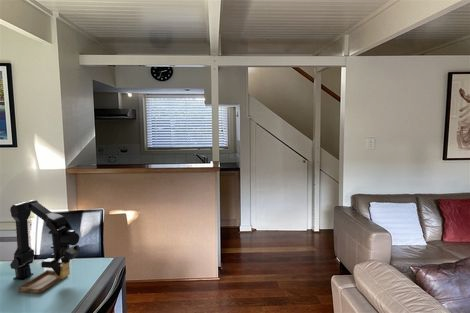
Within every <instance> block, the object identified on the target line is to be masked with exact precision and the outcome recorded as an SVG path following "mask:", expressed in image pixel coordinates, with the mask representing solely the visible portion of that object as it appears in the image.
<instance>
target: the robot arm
mask: <svg viewBox="0 0 470 313" xmlns="http://www.w3.org/2000/svg"><path fill="white" fill-rule="evenodd" d="M38 201H39V200H37V199H30V200H27V201H24V202H20V203H16V204H13V205H11V207H10V208H9V209H10V210H9V211H10V215H11V218H12V219H13V220H15V230H16V231H15V232H16V244H17V246H16V249H15V252H14V253H13V260H12V261H11V263H10V264H9V266H10V269H12V270H14V272H15V273H14V274H15V277H13V280H17V281H18V280H19V281H24V280H26V279H27V278H30V277H31V276H33V275H34V272H33V273H32V269H31V266H30V264H33V263H34V260H35V259H34V258H35V250H34V249H33V248H31V247H30V241H29V226H28V224H29V223H28V220H29V217H30V215H31V214H32V213H33V214H34V215H36V216H37V217H38V218H40V219H41V220H43V221H44V222H45V226H46V227H47V228H48V229H49V230H50V231H48V234H49V235H51V241H52V242H51V243H52V245H51V246H50V248H51V249H52V250H53V253H52V254H51V257H53V258H51V257H50V258H49V257H48V258H46V259H44V260H42V261H41V263H40V265H41V268H42V269H43V268H46V269H51V270H54V271H55V273H56V274H57V275H58V276H60V265H61V264H62V263H60V262H69V263H71V262H70V261H71V260H73V259H75V258H77V257H78V254H79V253H80V252H81V250H80V245H78V243H79V241H80V235H79V233H77V232H76V230H73V229H72V227H71V226H72V225H71V224H70V223H69V221H68V220H67V218H66V217H65V216H64V215H61V214H59V213H56V212H55V213H54V212H52V211H51V210H49V209H48V208H47V207H45V206H44V205H42V204H41V203H40V202H38Z"/></svg>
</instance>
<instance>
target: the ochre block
mask: <svg viewBox="0 0 470 313" xmlns="http://www.w3.org/2000/svg"><path fill="white" fill-rule="evenodd" d="M60 263H62V264H61V265H60V276H58V275H57V274H56V273H55V278H63V279H65V278H66V277H68V276H69V275H71V270H70V262H62V261H60Z"/></svg>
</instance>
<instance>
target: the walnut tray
mask: <svg viewBox="0 0 470 313" xmlns="http://www.w3.org/2000/svg"><path fill="white" fill-rule="evenodd" d="M63 279H64V278H55V271H54V270H53V269H47V270H45V271H43V272H41V273H40V274H38V275H36V276H35V277H33V278H31V279H30V280H28V281H27V282H25V283H23V284H21V285H20V286H18V287H17V290H18V293H21V294H32V295H33V294H34V295H35V294H36V295H41V294H43V293H45V292H46V291H48V290H49V289H50V288H52V287H53V286H55V285H56V284H57V283H59V282H60V281H61V280H63Z"/></svg>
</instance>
